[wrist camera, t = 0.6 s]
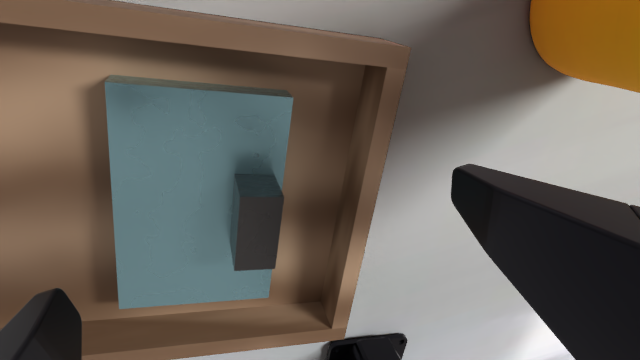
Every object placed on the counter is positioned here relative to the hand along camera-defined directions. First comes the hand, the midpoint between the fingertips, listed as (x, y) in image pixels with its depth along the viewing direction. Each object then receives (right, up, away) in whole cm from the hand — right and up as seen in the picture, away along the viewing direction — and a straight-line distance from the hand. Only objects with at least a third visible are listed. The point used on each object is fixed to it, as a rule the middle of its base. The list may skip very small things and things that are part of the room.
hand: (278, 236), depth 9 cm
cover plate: (-5, 0, +12) cm, 14 cm away
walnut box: (-7, +1, +13) cm, 15 cm away
